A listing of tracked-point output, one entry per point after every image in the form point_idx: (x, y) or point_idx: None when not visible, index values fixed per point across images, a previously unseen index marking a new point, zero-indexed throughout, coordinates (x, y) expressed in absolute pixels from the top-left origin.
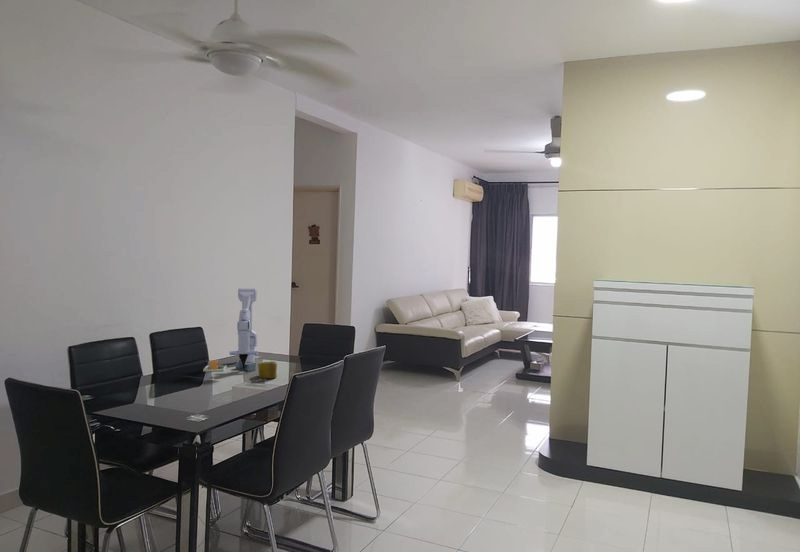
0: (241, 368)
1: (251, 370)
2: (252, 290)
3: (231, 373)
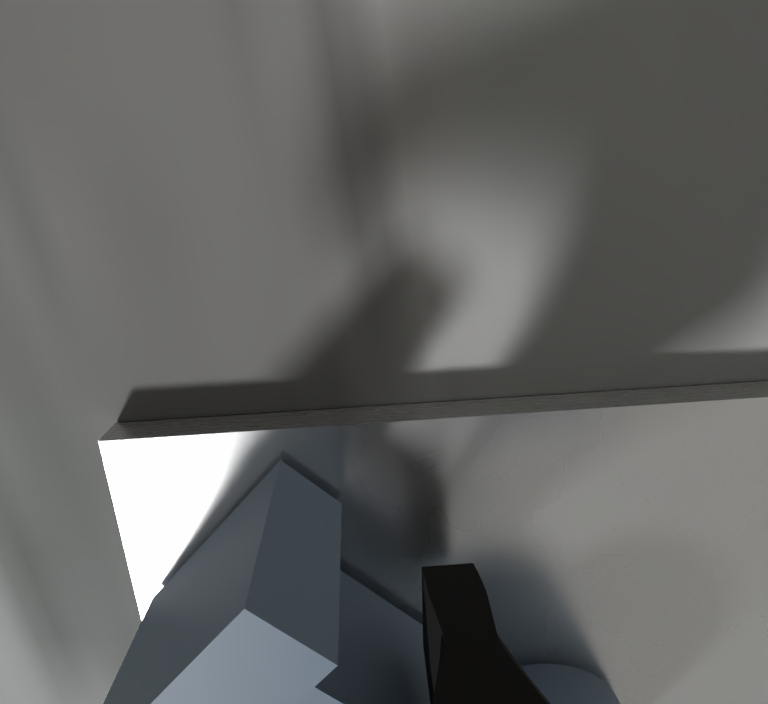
0: None
1: (230, 521)
2: None
3: None
